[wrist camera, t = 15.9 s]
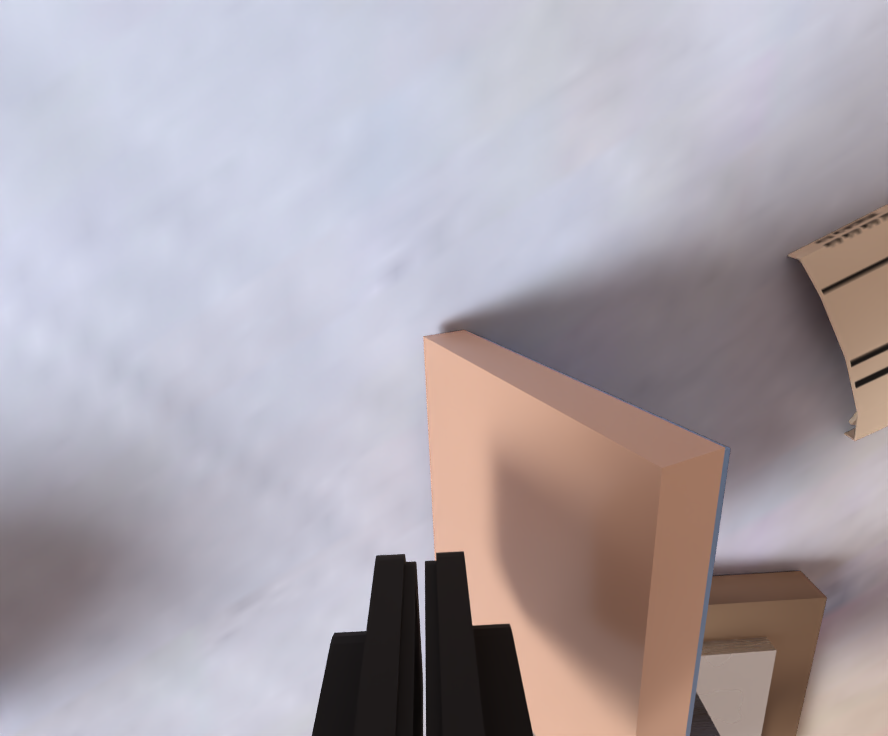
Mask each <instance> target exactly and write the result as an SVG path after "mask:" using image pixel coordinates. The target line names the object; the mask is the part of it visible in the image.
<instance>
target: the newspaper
mask: <svg viewBox="0 0 888 736" xmlns="http://www.w3.org/2000/svg"><path fill="white" fill-rule="evenodd" d="M787 256H788V257H791V258H794V259H797V260H800V261H799V262H801V263H802V265H803V267H804V269H805V271H806V272H807V274H808V276H809V278H810V280H811V281H812V283H813V285H814V287H815V289H816V291H817V292H818V294H819V296H820V298H821V300H822V303H823V305H824V308H825V310H826V313H827V315H828V318H829V320H830V323H831V325H832V328H833V330H834V333H835V335H836V337H837V340H838V342H839V345H840V347H841V350H842V352H843V355H844V357H845V360H846V365H847V369H848V374H849V379H850V383H851V388H852V392H853V397H854V401H855V406H856V410H857V411H856V413H855V414H854V415H853V417H852V418H851V419H850V420H849V423H850V424H851V425H856V428H854V429H852V430H850V431H848V432H846V433H844V434H845V435H846V436H848V437H849V438H851V439H852V440H854V441H856V440H858V439H861V438H863V437H865V436H867V435H869V434H872V433H874V432H876V431H878V430H880V429H882V428H885V427H887V426H888V204H887V205H885V206H883V207H881V208H879V209H877V210H875V211H873V212H871V213H869V214H867V215H865V216H863V217H861V218H859V219H857V220H855V221H853V222H851V223H849V224H847V225H845V226H843V227H842V228H840V229H838V230H836V231H834V232H832V233H830V234H828V235H826V236H824V237H822V238H820V239H818V240H816V241H814V242H812V243H810V244H808V245H806V246H804V247H802V248H800V249H798V250H796V251H794V252H792V253H790V254H788V255H787Z"/></svg>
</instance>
